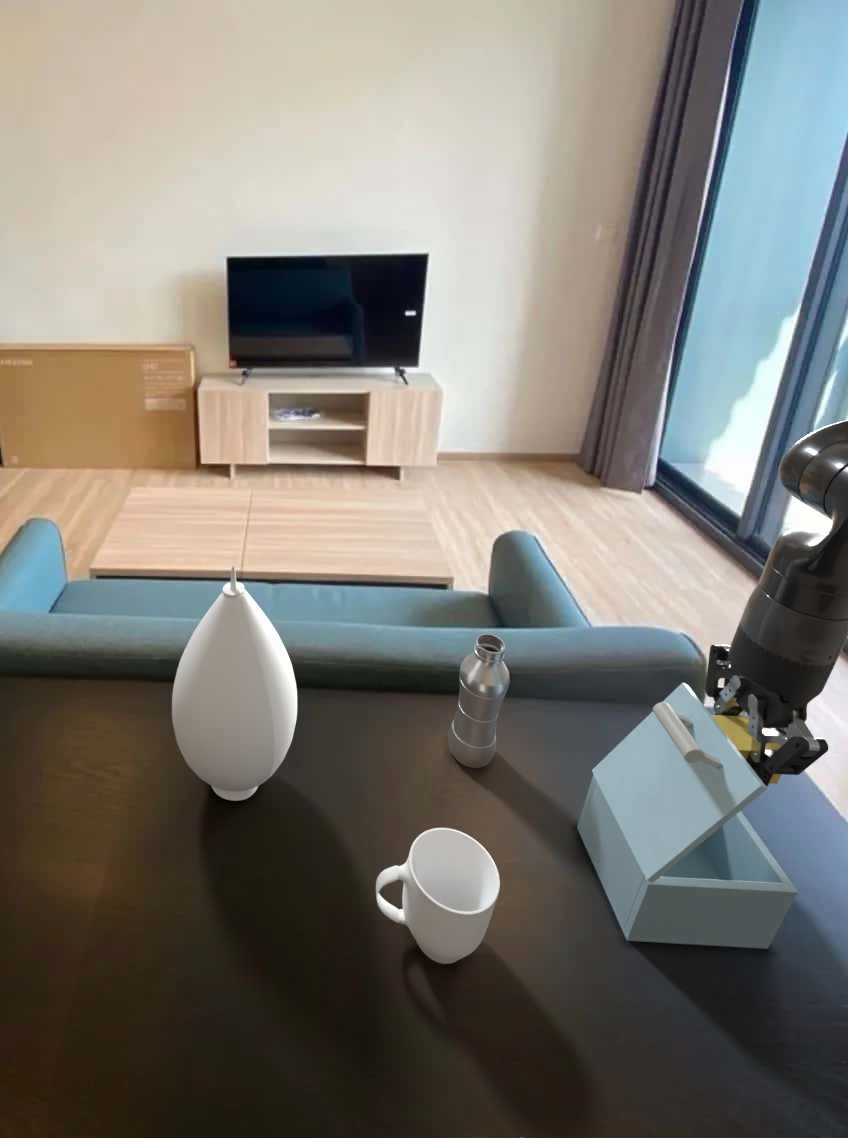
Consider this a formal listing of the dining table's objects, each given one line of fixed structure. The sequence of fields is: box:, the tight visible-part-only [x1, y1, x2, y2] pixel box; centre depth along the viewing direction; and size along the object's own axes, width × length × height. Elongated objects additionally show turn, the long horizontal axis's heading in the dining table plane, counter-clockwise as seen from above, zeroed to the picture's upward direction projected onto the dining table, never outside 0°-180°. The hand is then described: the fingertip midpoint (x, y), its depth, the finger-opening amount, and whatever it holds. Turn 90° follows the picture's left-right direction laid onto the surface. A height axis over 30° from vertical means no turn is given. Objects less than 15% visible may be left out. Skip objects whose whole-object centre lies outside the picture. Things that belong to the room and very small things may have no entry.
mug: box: [375, 827, 501, 965], centre depth 68 cm, size 12×9×12 cm
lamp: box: [171, 564, 298, 802], centre depth 81 cm, size 16×16×35 cm
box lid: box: [591, 682, 768, 882], centre depth 68 cm, size 16×13×5 cm
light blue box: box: [577, 774, 799, 950], centre depth 73 cm, size 15×13×10 cm
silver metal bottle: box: [447, 633, 511, 769], centre depth 88 cm, size 6×7×20 cm
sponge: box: [711, 714, 782, 785], centre depth 68 cm, size 6×4×4 cm
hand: (734, 761), depth 68 cm, fingers closed on sponge, 4 cm apart
